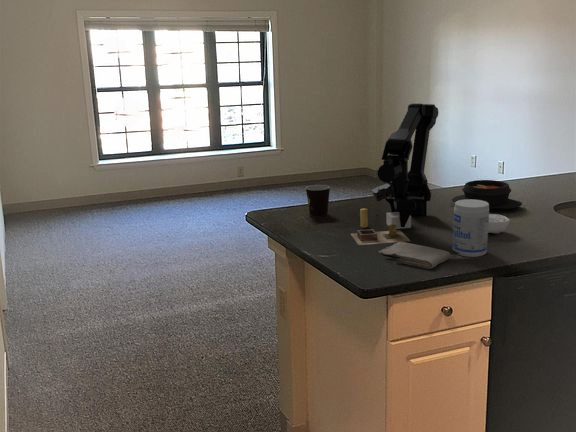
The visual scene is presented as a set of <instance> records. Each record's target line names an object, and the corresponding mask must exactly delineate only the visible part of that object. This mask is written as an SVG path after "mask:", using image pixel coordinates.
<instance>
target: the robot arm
mask: <svg viewBox="0 0 576 432" xmlns="http://www.w3.org/2000/svg"><path fill="white" fill-rule="evenodd" d="M407 106H408V107H407V111H406V113H405V115H404V118H403V119H402V121H401V123H400V125H399V127H398V129H397V130H396V131H394V132H392V133H391V135H390V136H389V137H388V139H387V140H386V142H385V145H384V148H383V151H382V152H383V153H382V157H381V160H382V161H383V164H382V165H380V166H379V167H378V169H377V177H378V179H379V180H380V181H381V182H383V183H385V184H381V185H380V186H377V187H375V188H373V189H371V192H372V193H371V194H372V195H373V198H374V200H375V201H376V202H381V201H383V200H385V201H386V202H387V203H388V204H389V205H388V206H389V209H390V212H398V213H399V219H400V225H401V227H405V225H406V223H407V221H408V219H409V217H410V216H411V218H420V217H428V215H427V209H428V208H427V205H428V204H427V202H430V201H431V198H432V192H431V189H430V188H429V185H428V183H429V182H428V179H427V177H426V174H425V166H426V159H427V152H428V145H429V138H430V131H431V130H432V129H433V127H434V126H435V125H436V122H437V119H438V117H439V108H438V107H436V104H434V103H427V104H426V103H424V104H423V103H410V104H408V105H407ZM413 135H414V139H413V142H412V138H413ZM411 153H412V155H411ZM410 156H411V161H410V168H409V169H408V167H409V163H408V161H409V160H410Z"/></svg>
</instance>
